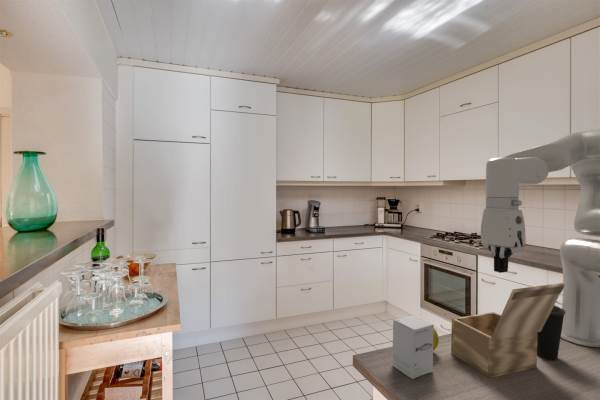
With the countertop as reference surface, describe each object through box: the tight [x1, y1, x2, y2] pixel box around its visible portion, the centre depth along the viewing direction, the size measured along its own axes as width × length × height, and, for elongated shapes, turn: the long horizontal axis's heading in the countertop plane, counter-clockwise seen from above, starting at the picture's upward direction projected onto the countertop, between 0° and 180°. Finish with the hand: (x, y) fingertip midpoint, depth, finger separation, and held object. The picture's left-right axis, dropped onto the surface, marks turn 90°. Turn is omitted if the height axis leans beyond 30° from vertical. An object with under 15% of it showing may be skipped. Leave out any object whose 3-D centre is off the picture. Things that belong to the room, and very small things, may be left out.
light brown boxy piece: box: [450, 311, 538, 379], centre depth 89 cm, size 16×13×10 cm
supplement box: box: [391, 315, 435, 380], centre depth 84 cm, size 7×7×13 cm
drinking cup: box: [537, 305, 566, 361], centre depth 91 cm, size 8×8×20 cm
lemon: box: [433, 328, 440, 351], centre depth 93 cm, size 6×6×8 cm
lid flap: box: [491, 282, 565, 341], centre depth 80 cm, size 17×15×1 cm
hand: (500, 271), depth 88 cm, fingers closed
